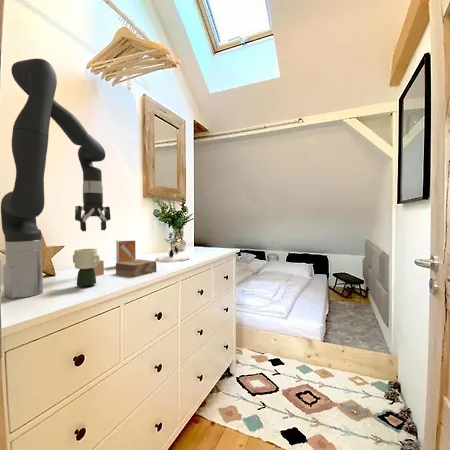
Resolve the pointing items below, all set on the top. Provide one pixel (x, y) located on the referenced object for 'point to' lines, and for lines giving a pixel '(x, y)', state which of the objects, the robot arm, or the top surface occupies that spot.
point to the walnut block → (135, 267)
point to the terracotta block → (99, 268)
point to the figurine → (172, 254)
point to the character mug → (86, 266)
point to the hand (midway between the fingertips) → (93, 230)
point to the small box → (125, 250)
